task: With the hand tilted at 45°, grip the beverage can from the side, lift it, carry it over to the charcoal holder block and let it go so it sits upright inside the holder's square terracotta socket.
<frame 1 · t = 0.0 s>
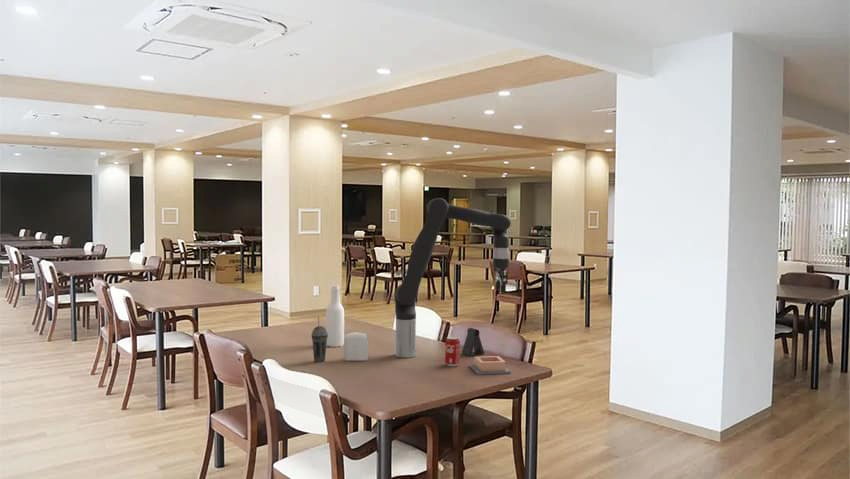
hand: (500, 291, 284), 29 cm above the table, tool pointing down, fingers open, 8 cm apart
alcohol: (335, 345, 299), on the table
beverage cup: (319, 361, 265), on the table
phone stand: (473, 354, 283), on the table
beverage can: (452, 365, 261), on the table
holder: (489, 369, 254), on the table
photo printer: (355, 360, 269), on the table
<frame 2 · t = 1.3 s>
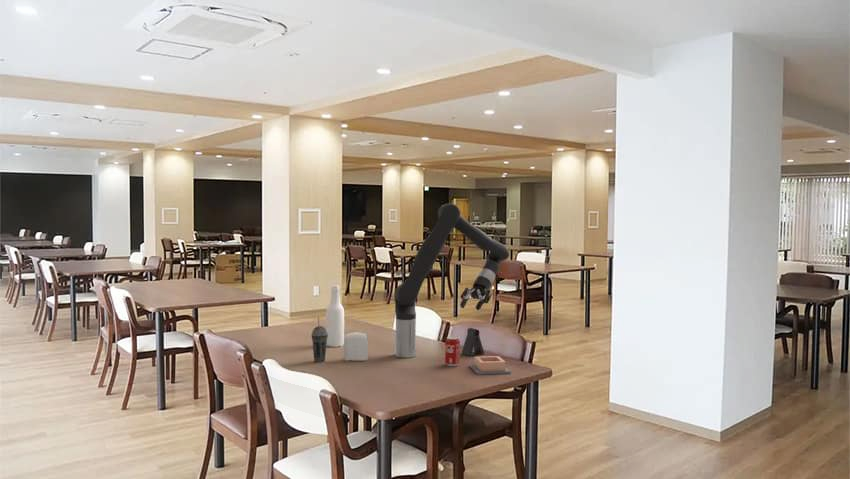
hand: (469, 308, 269), 24 cm above the table, tool tilted 45°, fingers open, 8 cm apart
nothing on the table moved.
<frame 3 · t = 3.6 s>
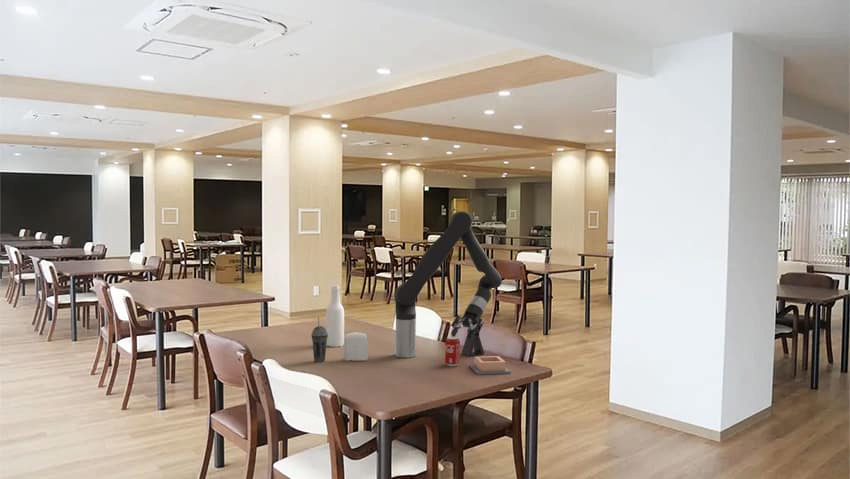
hand: (460, 337, 265), 11 cm above the table, tool tilted 45°, fingers open, 8 cm apart
nothing on the table moved.
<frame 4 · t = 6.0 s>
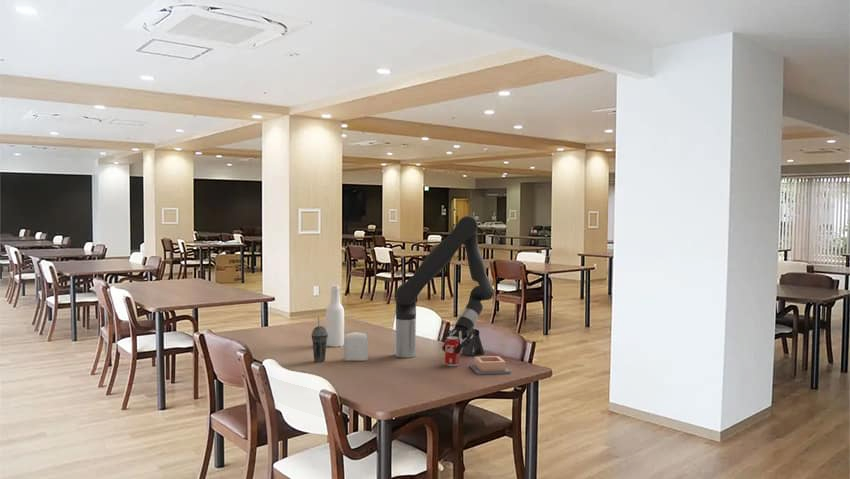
hand: (450, 351, 260), 6 cm above the table, tool tilted 45°, fingers closed on beverage can, 6 cm apart
beverage can: (452, 365, 261), on the table, touching gripper
everything else where it was.
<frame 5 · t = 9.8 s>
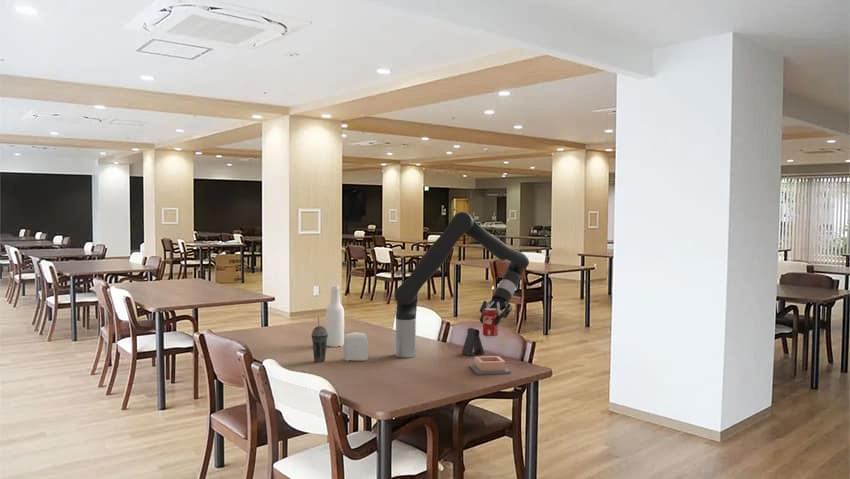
hand: (488, 323, 252), 20 cm above the table, tool tilted 45°, fingers closed on beverage can, 6 cm apart
beverage can: (490, 337, 253), point 14 cm above the table, touching gripper
everything else where it was.
when the fingers open (8 cm above the table, at t = 13.4 s): beverage can drops 1 cm, resting on holder.
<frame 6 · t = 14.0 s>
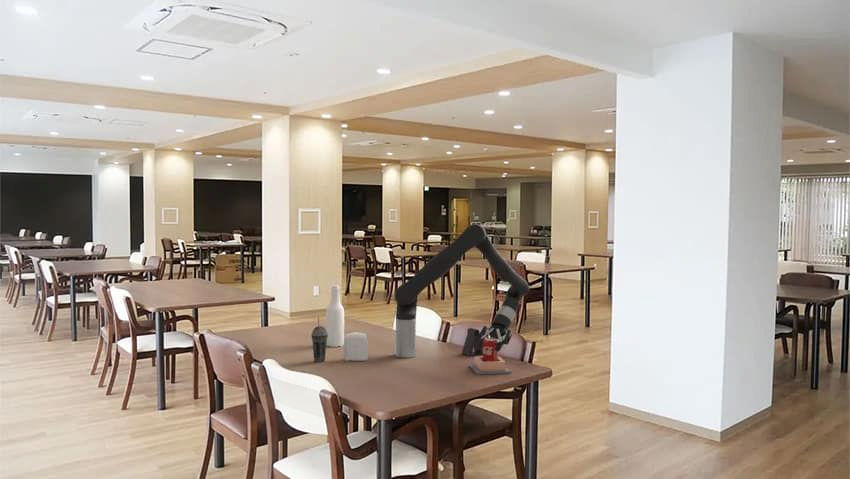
hand: (488, 349, 252), 9 cm above the table, tool tilted 45°, fingers open, 8 cm apart
beverage can: (490, 367, 254), point 1 cm above the table, touching holder
everything else where it was.
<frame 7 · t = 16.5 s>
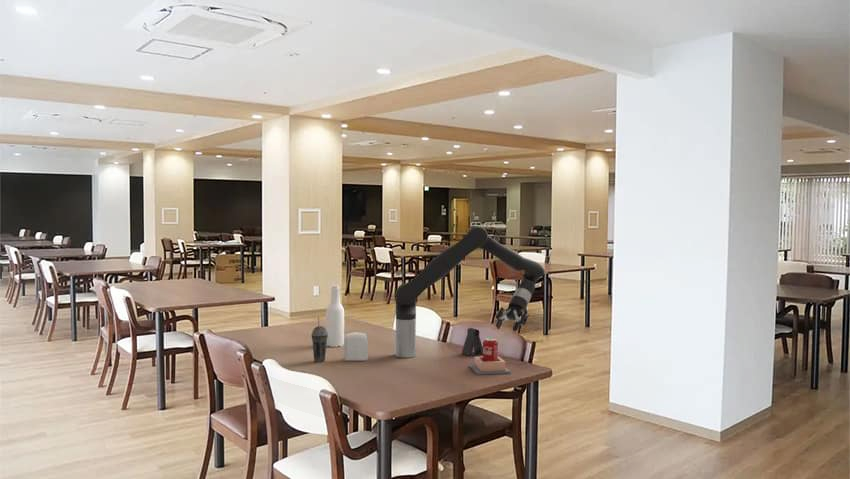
hand: (505, 329, 262), 16 cm above the table, tool tilted 45°, fingers open, 8 cm apart
nothing on the table moved.
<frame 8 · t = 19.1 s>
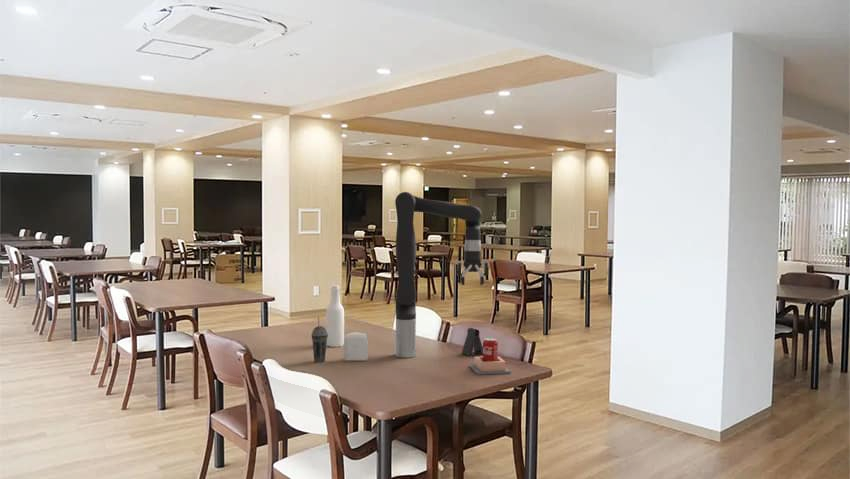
hand: (472, 285, 277), 33 cm above the table, tool pointing down, fingers open, 8 cm apart
nothing on the table moved.
at the end: beverage can 0.3 cm off-centre on the holder, point 0.8 cm above the holder's base; beverage can tilted 0°; the gripper is holding nothing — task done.
